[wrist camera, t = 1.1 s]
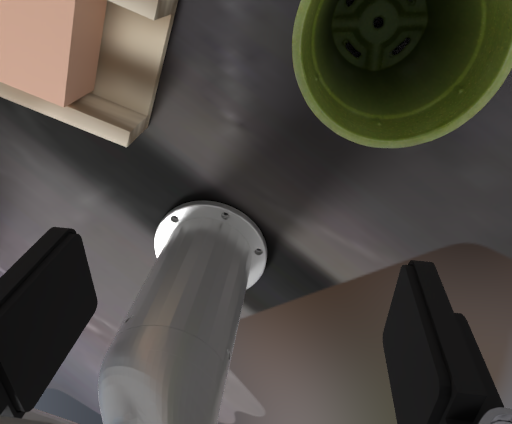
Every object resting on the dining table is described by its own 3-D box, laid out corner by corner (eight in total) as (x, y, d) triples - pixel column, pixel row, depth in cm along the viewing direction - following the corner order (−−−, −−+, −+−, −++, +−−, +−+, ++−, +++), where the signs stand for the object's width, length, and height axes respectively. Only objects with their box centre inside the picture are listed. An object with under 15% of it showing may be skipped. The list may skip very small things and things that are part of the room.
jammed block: (93, 90, 35) (63, 107, 31) (27, 62, 35) (-12, 76, 30) (108, -6, 31) (75, 0, 27) (32, -38, 30) (-13, -38, 26)
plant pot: (492, -51, 27) (583, -57, 18) (416, 112, 34) (454, 170, 24) (326, -96, 27) (331, -126, 18) (282, 76, 34) (269, 120, 24)
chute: (147, 126, 38) (126, 147, 34) (-118, 18, 36) (-176, 26, 31) (179, -7, 31) (158, -2, 27) (-141, -150, 29) (-218, -168, 25)
